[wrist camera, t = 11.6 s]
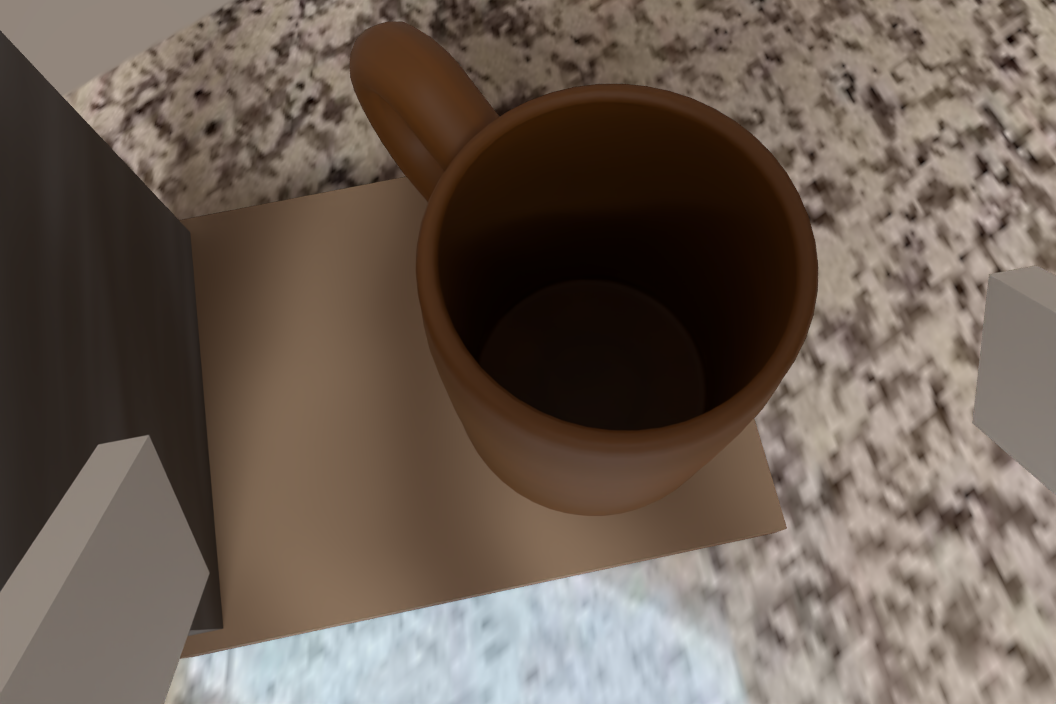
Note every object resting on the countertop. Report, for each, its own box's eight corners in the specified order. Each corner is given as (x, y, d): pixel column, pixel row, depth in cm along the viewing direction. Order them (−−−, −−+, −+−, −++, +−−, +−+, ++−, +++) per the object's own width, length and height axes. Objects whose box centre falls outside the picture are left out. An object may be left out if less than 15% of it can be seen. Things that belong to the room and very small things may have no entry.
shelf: (661, 151, 28) (735, -150, 17) (772, 533, 24) (965, 465, 13) (163, 247, 27) (-100, -2, 16) (192, 656, 23) (-130, 698, 12)
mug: (316, 275, 25) (187, 84, 16) (504, 130, 26) (482, -119, 17) (581, 580, 22) (606, 557, 13) (776, 399, 23) (919, 267, 14)
